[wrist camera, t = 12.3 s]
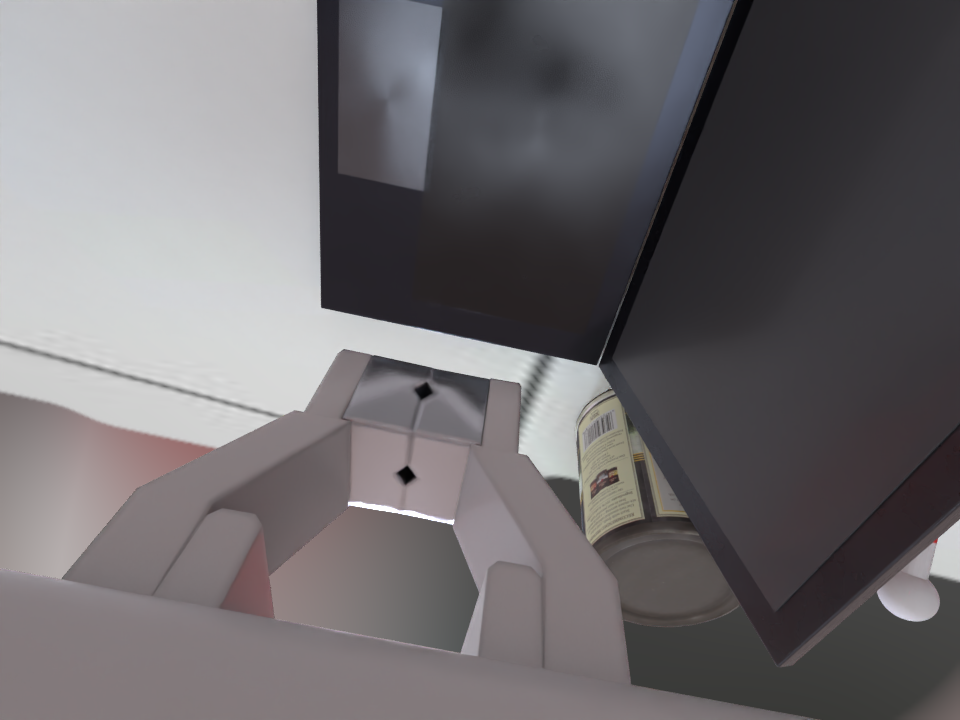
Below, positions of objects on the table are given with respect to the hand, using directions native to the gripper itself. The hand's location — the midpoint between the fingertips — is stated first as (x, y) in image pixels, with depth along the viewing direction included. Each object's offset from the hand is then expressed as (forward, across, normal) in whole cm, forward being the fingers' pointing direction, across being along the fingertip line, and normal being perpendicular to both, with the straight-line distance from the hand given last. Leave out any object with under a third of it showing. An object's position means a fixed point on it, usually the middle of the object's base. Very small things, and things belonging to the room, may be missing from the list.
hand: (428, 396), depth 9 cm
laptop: (+27, +1, 0) cm, 27 cm away
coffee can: (+26, -16, +22) cm, 38 cm away
